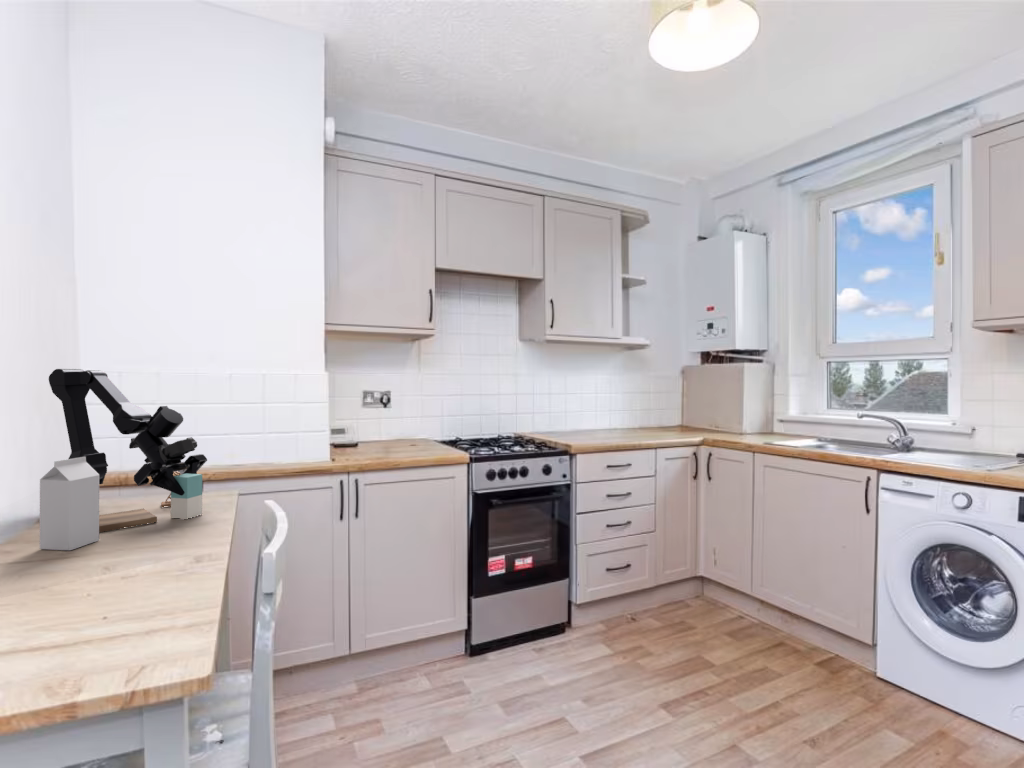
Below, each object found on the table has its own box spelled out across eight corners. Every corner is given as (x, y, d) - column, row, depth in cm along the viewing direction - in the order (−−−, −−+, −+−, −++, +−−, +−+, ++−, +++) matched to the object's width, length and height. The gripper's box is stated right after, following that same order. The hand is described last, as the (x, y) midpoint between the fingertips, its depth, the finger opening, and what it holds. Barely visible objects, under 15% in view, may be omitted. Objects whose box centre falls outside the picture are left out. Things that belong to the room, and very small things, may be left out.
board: (86, 523, 130) (86, 517, 130) (143, 514, 139) (143, 508, 139) (97, 532, 122) (97, 526, 122) (156, 522, 131) (156, 516, 131)
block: (170, 518, 135) (171, 476, 135) (186, 513, 140) (186, 473, 140) (187, 519, 134) (187, 477, 134) (202, 514, 139) (202, 474, 139)
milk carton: (99, 541, 116) (99, 457, 116) (69, 551, 109) (69, 462, 109) (70, 539, 117) (71, 456, 117) (39, 549, 110) (39, 461, 110)
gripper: (143, 432, 128) (181, 478, 126) (201, 425, 147) (235, 466, 145) (116, 462, 130) (153, 508, 128) (177, 452, 148) (210, 492, 146)
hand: (191, 492), depth 137 cm, fingers closed on block, 5 cm apart
